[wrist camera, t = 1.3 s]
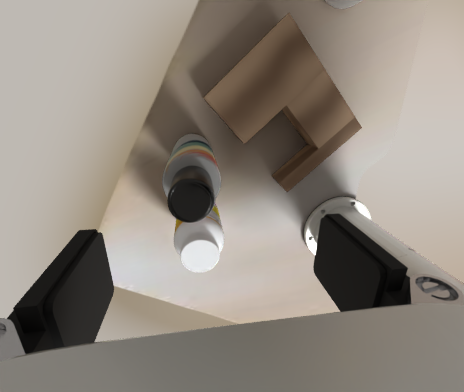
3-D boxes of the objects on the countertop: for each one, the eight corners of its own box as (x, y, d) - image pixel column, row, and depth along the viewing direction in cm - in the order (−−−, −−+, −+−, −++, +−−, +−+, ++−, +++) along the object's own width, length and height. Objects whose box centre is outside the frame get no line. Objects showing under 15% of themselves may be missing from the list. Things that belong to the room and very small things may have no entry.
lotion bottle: (199, 177, 39) (204, 246, 21) (166, 158, 38) (140, 215, 19) (218, 146, 38) (241, 191, 20) (185, 125, 36) (176, 153, 18)
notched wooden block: (346, 124, 40) (361, 127, 36) (278, 183, 42) (287, 192, 38) (278, 22, 33) (289, 12, 30) (203, 97, 35) (203, 97, 32)
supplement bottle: (183, 233, 43) (179, 285, 31) (172, 198, 40) (163, 240, 28) (221, 224, 43) (232, 271, 31) (213, 188, 41) (221, 226, 29)
